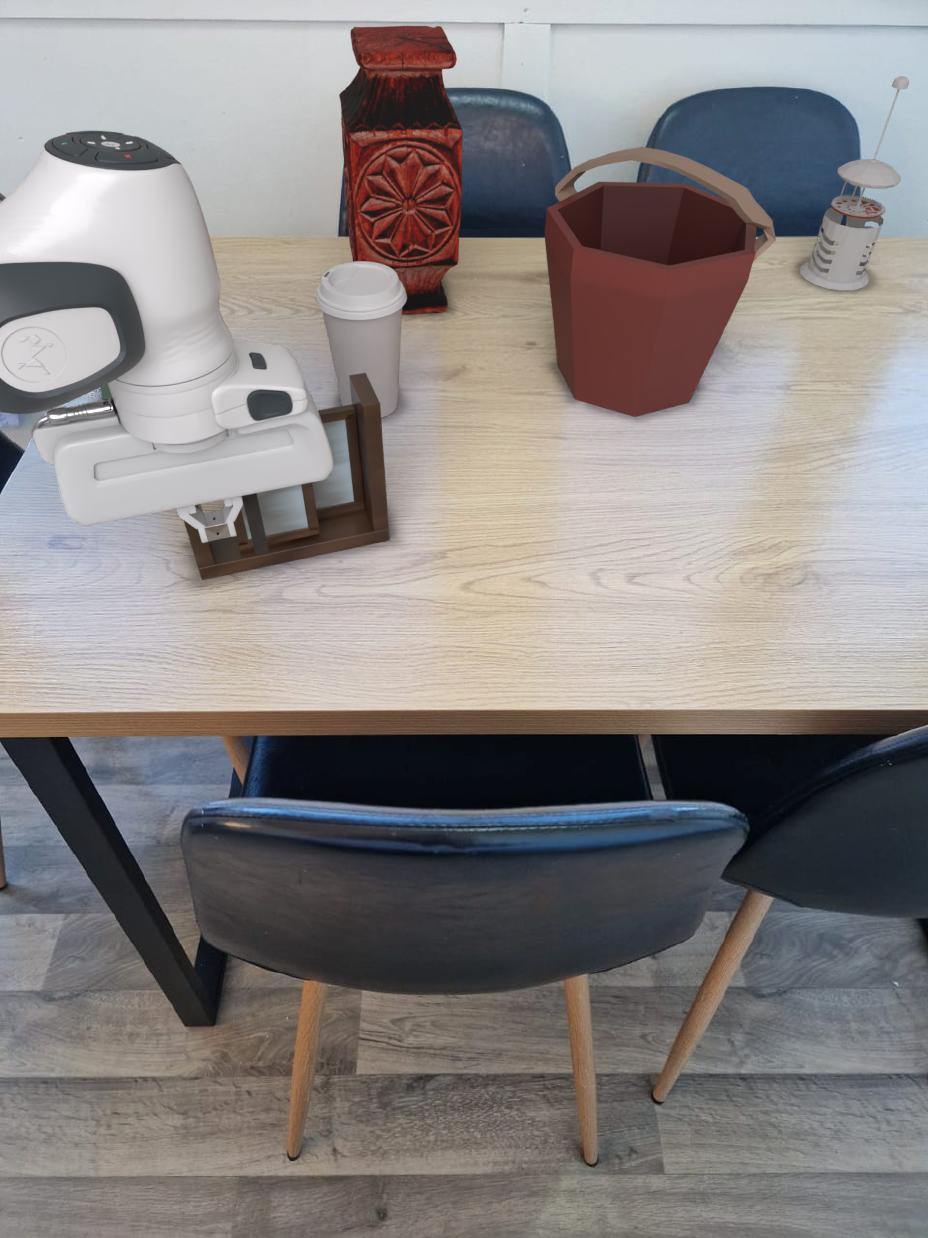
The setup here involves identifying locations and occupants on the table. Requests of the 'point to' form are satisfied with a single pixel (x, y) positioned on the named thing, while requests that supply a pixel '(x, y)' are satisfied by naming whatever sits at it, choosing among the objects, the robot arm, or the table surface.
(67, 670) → the table surface
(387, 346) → the coffee cup
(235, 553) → the window frame
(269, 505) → the sliding window sash
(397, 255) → the vase
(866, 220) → the french press
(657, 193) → the bucket
